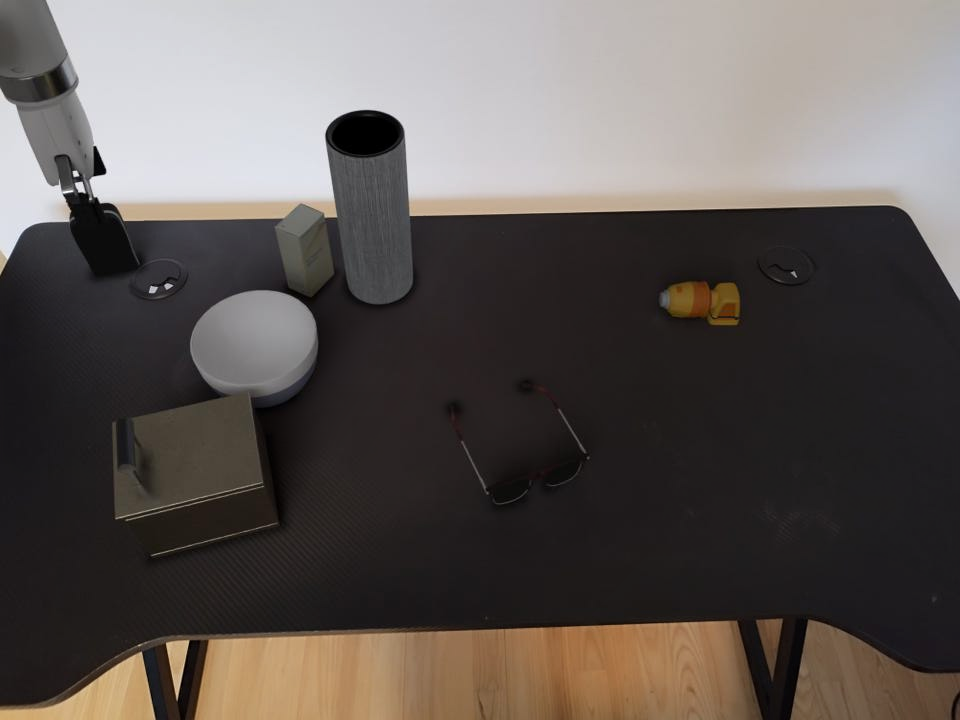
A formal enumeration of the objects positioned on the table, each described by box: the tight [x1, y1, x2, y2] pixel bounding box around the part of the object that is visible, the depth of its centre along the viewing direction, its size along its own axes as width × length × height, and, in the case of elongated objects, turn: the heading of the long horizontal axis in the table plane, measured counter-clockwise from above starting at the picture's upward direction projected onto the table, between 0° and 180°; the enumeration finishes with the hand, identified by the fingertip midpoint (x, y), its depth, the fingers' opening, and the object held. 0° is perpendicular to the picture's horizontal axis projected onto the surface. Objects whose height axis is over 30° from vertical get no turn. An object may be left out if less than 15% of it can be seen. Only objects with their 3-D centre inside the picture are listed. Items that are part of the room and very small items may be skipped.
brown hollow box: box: [124, 397, 281, 559], centre depth 94 cm, size 15×13×10 cm
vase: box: [324, 109, 414, 305], centre depth 110 cm, size 10×10×27 cm
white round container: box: [189, 289, 319, 409], centre depth 105 cm, size 16×16×10 cm
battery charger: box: [68, 202, 140, 278], centre depth 117 cm, size 7×4×11 cm, turn 109°
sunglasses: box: [450, 382, 590, 505], centre depth 102 cm, size 14×16×5 cm
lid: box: [111, 392, 264, 523], centre depth 88 cm, size 16×13×5 cm
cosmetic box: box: [274, 202, 335, 298], centre depth 116 cm, size 6×4×12 cm
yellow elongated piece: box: [658, 280, 741, 326], centre depth 117 cm, size 5×6×12 cm
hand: (94, 200), depth 97 cm, fingers open, 9 cm apart
